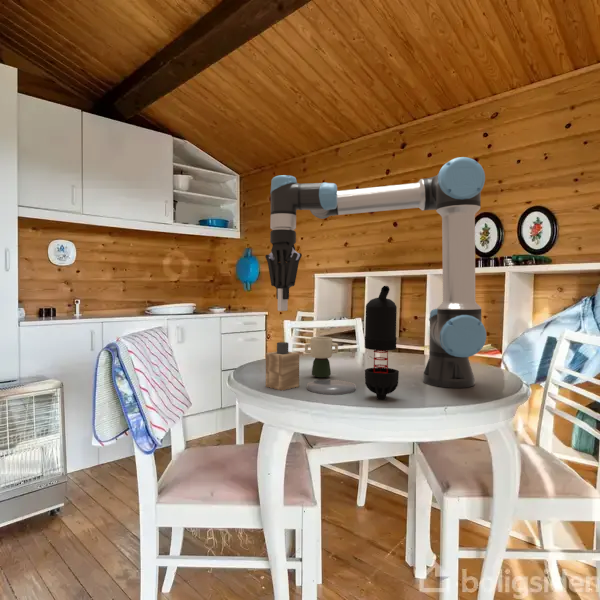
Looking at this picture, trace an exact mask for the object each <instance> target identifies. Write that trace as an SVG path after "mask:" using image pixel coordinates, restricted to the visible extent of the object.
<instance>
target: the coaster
mask: <svg viewBox="0 0 600 600" xmlns="http://www.w3.org/2000/svg"><path fill="white" fill-rule="evenodd" d="M306 389H308V390H307V391H309V392H311V393H315V394H320V395H331V396H332V395H335V396H336V395H348V394H351V392H352V393H354V392H355V391H356V384H355V383H353V382H351V381H347V380H341V379H339V380H338V379H318V380H311V381H309V382H307V384H306Z"/></svg>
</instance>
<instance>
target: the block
mask: <svg viewBox="0 0 600 600" xmlns="http://www.w3.org/2000/svg"><path fill="white" fill-rule="evenodd" d="M269 387H270V389H273V388H274V389H275V390H278V391H282V390H283V391H287V390H291V388H292V389H296V388H299V387H300V353H299V352H293V351H288V354H277V351H272V352H271V351H270V352H265V388H269ZM295 387H296V388H295ZM286 389H287V390H286Z"/></svg>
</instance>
